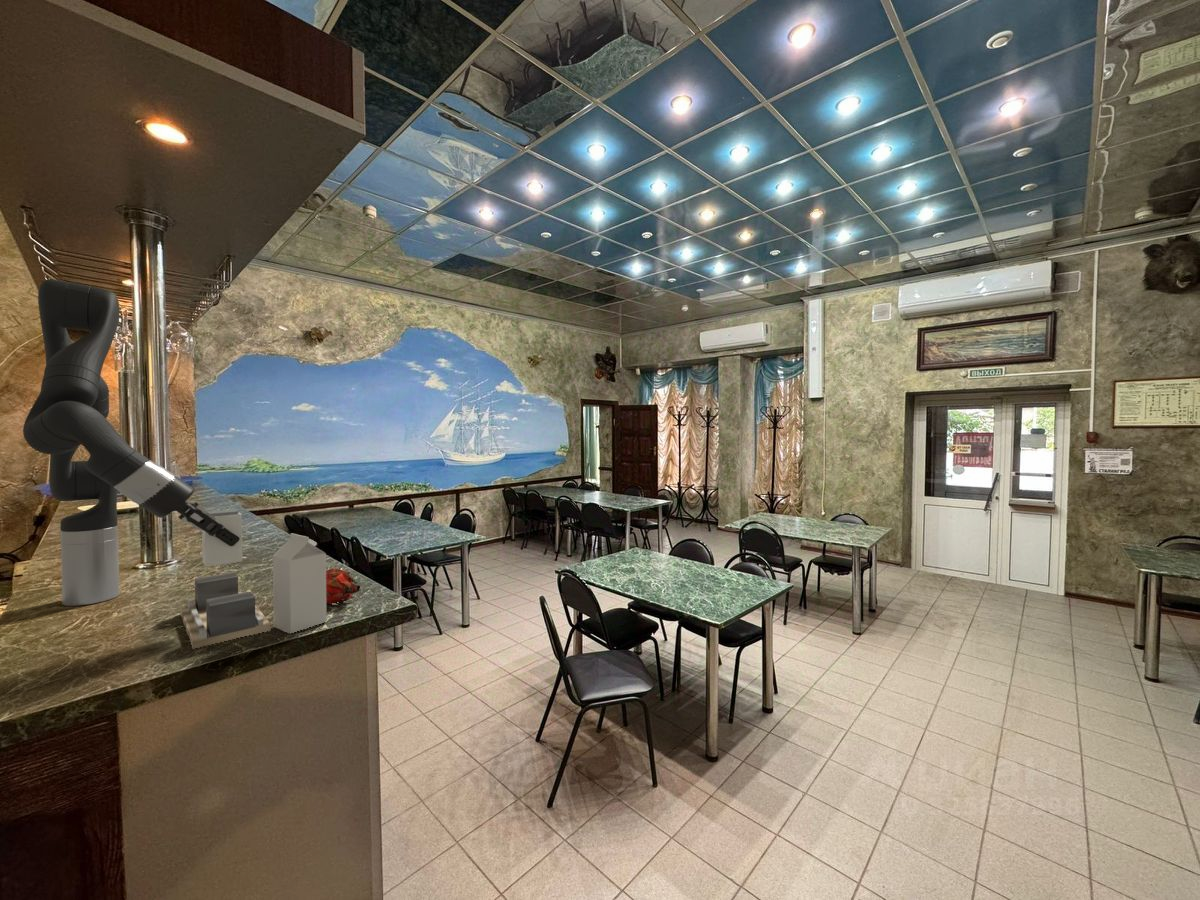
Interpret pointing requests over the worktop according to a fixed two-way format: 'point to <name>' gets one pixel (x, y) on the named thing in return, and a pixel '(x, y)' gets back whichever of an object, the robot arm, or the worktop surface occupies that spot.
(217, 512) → the block
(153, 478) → the robot arm
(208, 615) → the rail plate
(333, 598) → the dragon fruit
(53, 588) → the worktop surface
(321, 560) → the milk carton
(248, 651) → the worktop surface
